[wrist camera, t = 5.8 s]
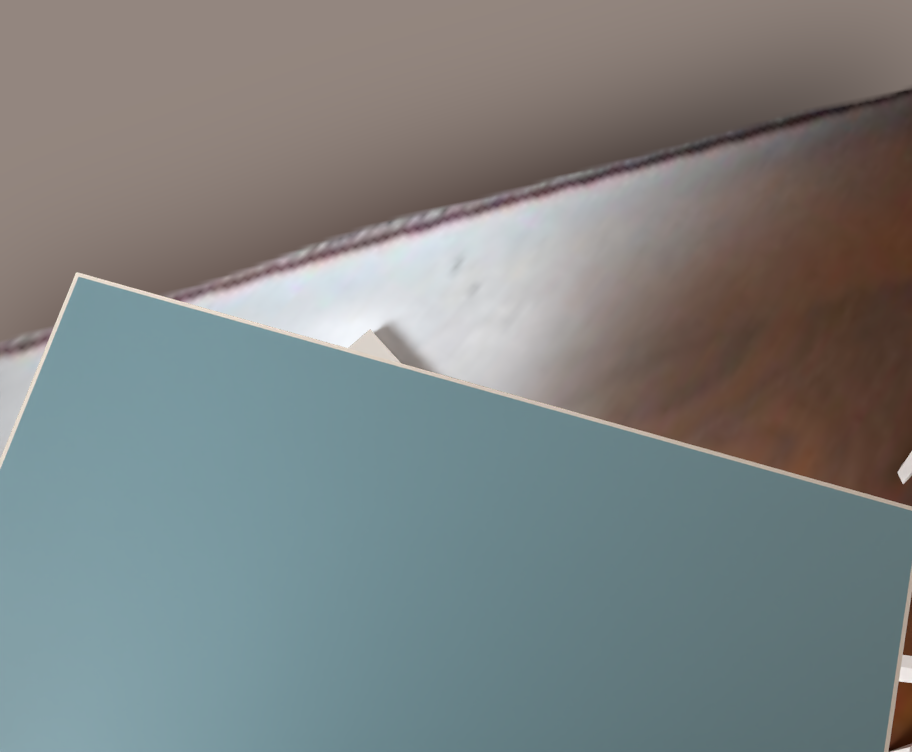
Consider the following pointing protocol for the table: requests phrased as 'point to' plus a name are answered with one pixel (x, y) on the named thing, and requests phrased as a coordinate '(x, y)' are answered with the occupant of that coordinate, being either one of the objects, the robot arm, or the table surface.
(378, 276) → the table surface
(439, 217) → the table surface
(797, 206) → the table surface
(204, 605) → the teal block
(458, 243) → the table surface
